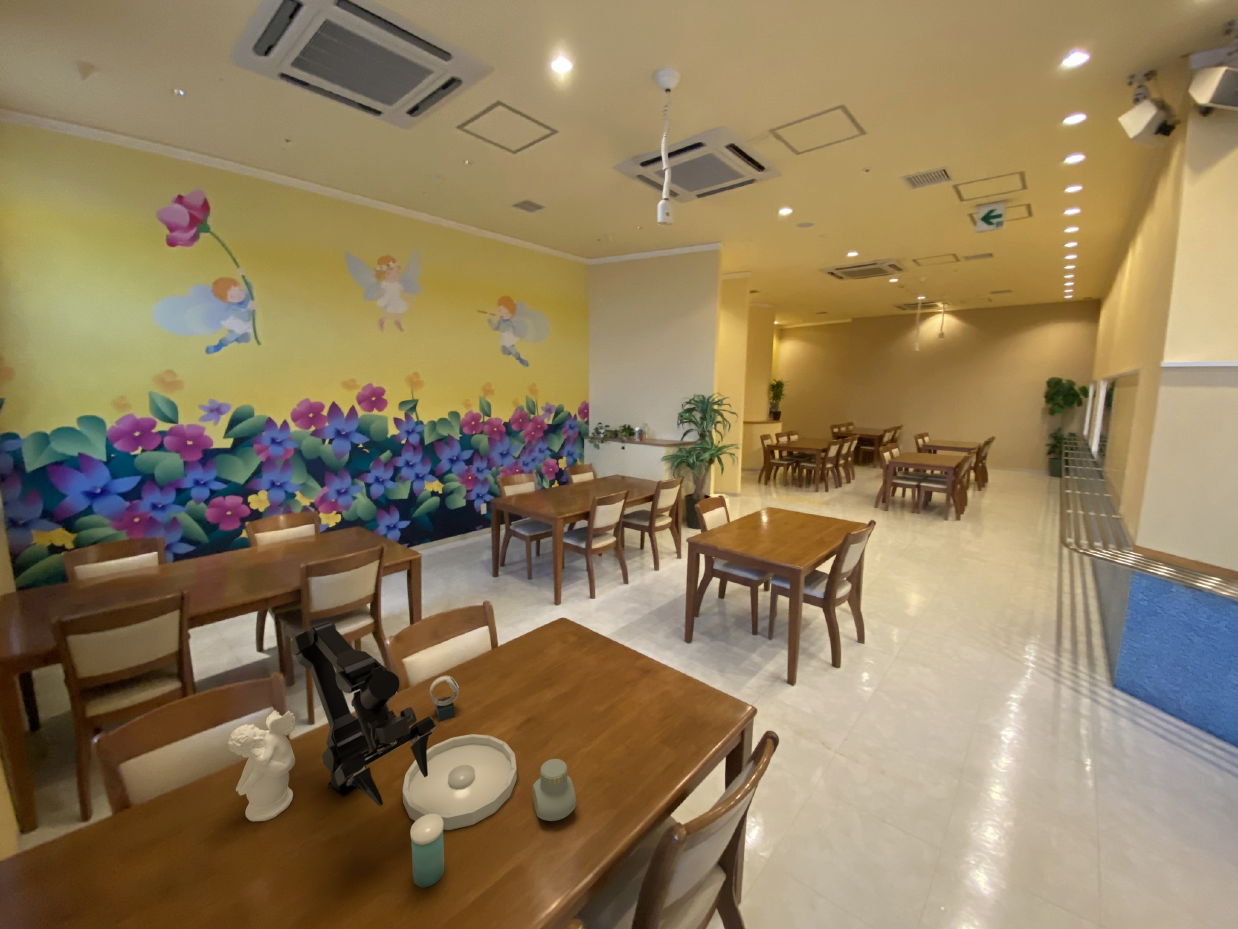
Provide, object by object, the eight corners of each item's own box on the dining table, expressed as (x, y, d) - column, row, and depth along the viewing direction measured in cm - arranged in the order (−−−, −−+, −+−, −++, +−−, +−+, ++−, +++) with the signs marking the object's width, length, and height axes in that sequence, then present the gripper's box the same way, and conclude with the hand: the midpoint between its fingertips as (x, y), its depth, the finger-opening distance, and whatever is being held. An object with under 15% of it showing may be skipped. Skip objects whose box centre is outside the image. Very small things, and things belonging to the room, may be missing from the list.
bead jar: (427, 893, 91) (425, 846, 89) (405, 878, 94) (403, 832, 92) (451, 867, 96) (449, 822, 94) (430, 853, 99) (428, 809, 97)
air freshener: (530, 794, 114) (530, 755, 112) (565, 784, 116) (565, 746, 115) (540, 834, 103) (540, 791, 102) (578, 822, 106) (578, 781, 105)
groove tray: (460, 849, 100) (459, 836, 99) (379, 799, 111) (378, 787, 111) (537, 767, 121) (537, 756, 121) (463, 733, 133) (462, 723, 133)
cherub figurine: (231, 828, 104) (218, 733, 100) (257, 783, 115) (246, 697, 112) (297, 815, 107) (286, 722, 103) (315, 772, 119) (306, 688, 115)
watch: (461, 714, 141) (460, 679, 139) (432, 723, 137) (430, 686, 135) (457, 703, 146) (456, 669, 144) (429, 712, 142) (427, 676, 140)
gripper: (337, 726, 91) (368, 811, 86) (430, 681, 105) (461, 751, 100) (322, 745, 97) (351, 825, 92) (412, 700, 111) (441, 767, 106)
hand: (404, 790), depth 97 cm, fingers open, 9 cm apart
